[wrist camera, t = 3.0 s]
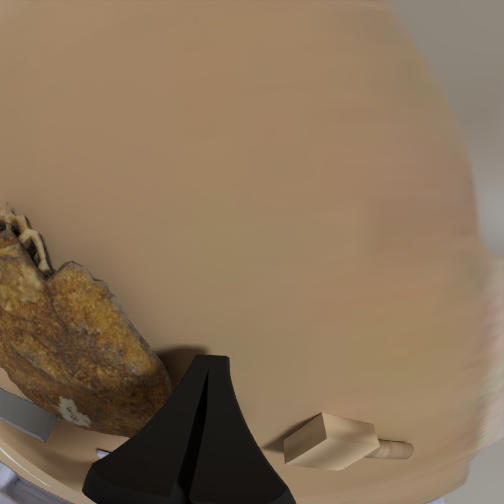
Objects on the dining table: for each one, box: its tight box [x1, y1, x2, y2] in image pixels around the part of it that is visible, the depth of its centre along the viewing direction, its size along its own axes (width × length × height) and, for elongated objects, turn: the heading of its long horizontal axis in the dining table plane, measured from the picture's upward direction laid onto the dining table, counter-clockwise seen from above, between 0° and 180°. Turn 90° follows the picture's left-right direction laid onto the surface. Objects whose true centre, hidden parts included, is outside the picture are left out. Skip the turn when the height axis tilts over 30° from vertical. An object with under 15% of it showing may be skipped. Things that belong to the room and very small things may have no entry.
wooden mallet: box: [283, 412, 414, 471], centre depth 16 cm, size 12×4×2 cm, turn 59°
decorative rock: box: [0, 202, 172, 438], centre depth 11 cm, size 11×4×15 cm
